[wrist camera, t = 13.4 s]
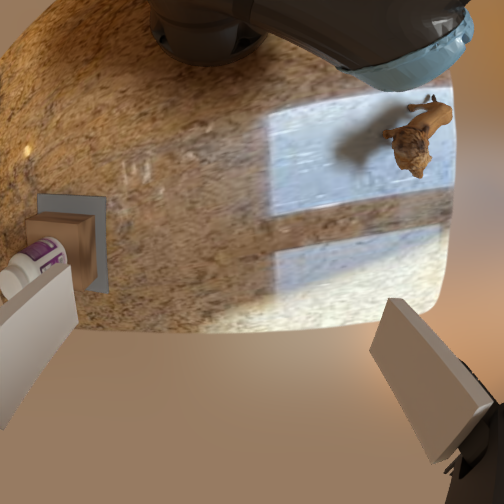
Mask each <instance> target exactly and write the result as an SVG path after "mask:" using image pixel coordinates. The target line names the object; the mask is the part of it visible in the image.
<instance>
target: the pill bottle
mask: <svg viewBox="0 0 504 504" xmlns="http://www.w3.org/2000/svg"><path fill="white" fill-rule="evenodd" d="M55 263H61V264H67V255H66V252H65V249H64V247H63V245H62V244H61V243H60V242H59V241H58V240H57V239H55V238H53V237H44V238H42V239H40V240H38V241H36V242H35V243H33V244H31V245H30V246H28V247H26V248H25V249H23V250H21V251H20V252H18V253H17V254H15V255H14V256H13V257H12V258H11V259H10V261H9V263H8V266H7V267H6V268H5V269H4V270H2V271H1V272H0V288H1V291H2V293H3V294H4V296H5V297H6V298H7V299H8V300H9V299H11V298H12V297H13V296H14V295H15V294H17V293H18V292H19V291H20V290H22V289H23V288H24V287H25V286H27V285H28V284H29V283H30V282H32V281H33V280H34V279H35V278H37V277H38V276H39V275H41V274H42V273H43V272H44V271H46V270H47V269H48V268H50V267H51V266H52V265H54V264H55Z"/></svg>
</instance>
